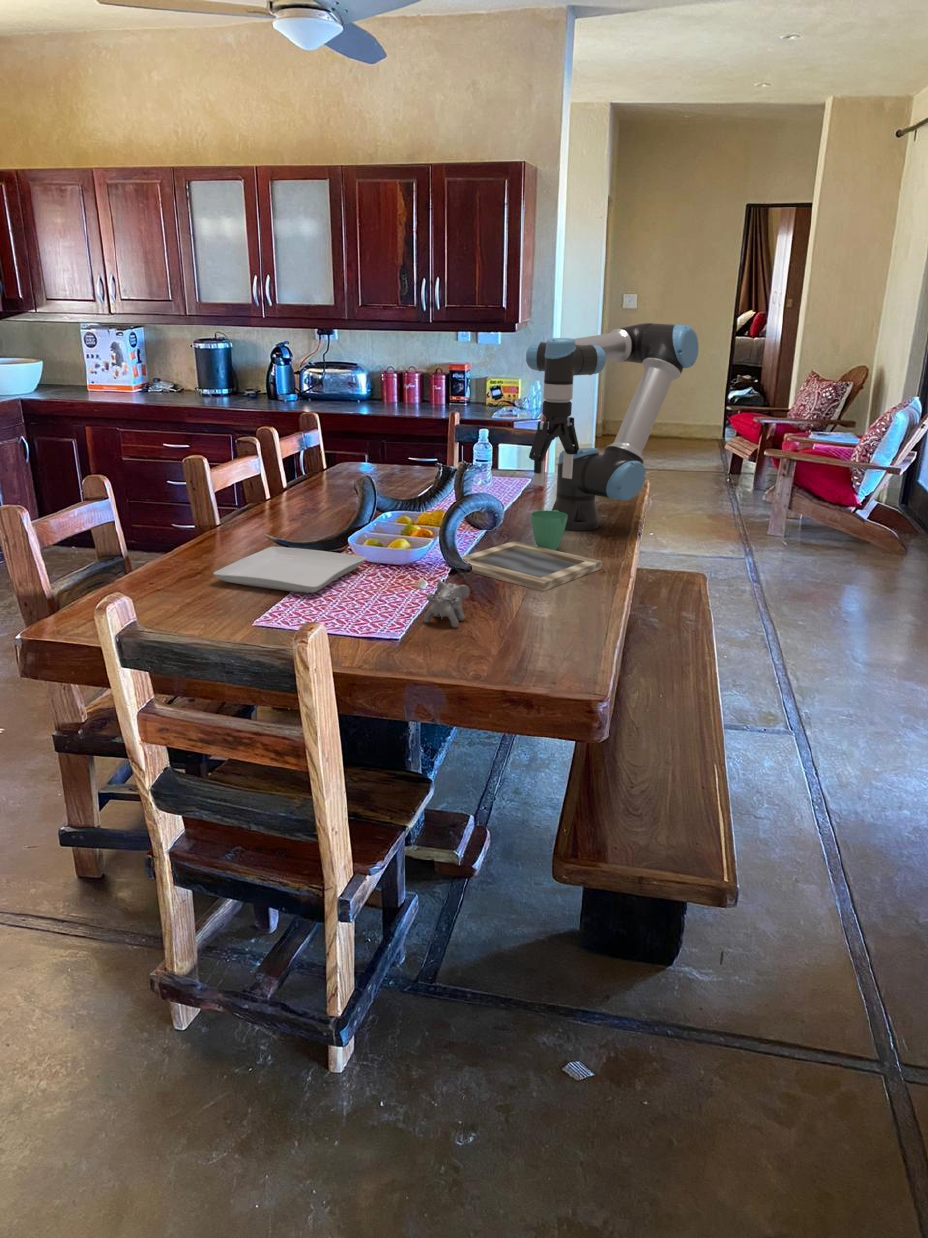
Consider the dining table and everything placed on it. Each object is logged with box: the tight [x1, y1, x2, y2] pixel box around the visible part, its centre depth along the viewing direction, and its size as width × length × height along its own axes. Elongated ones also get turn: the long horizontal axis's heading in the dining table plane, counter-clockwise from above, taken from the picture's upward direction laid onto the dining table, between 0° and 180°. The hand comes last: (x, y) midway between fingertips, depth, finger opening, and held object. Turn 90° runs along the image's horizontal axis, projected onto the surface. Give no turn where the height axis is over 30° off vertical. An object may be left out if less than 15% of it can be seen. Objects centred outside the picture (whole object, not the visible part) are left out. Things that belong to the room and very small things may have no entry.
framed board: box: [461, 540, 603, 592], centre depth 226 cm, size 26×28×2 cm
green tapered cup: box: [530, 509, 568, 551], centre depth 244 cm, size 15×10×10 cm
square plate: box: [212, 545, 367, 594], centre depth 214 cm, size 27×27×4 cm
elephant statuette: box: [423, 580, 471, 628], centre depth 188 cm, size 9×12×8 cm
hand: (553, 481), depth 239 cm, fingers open, 13 cm apart
